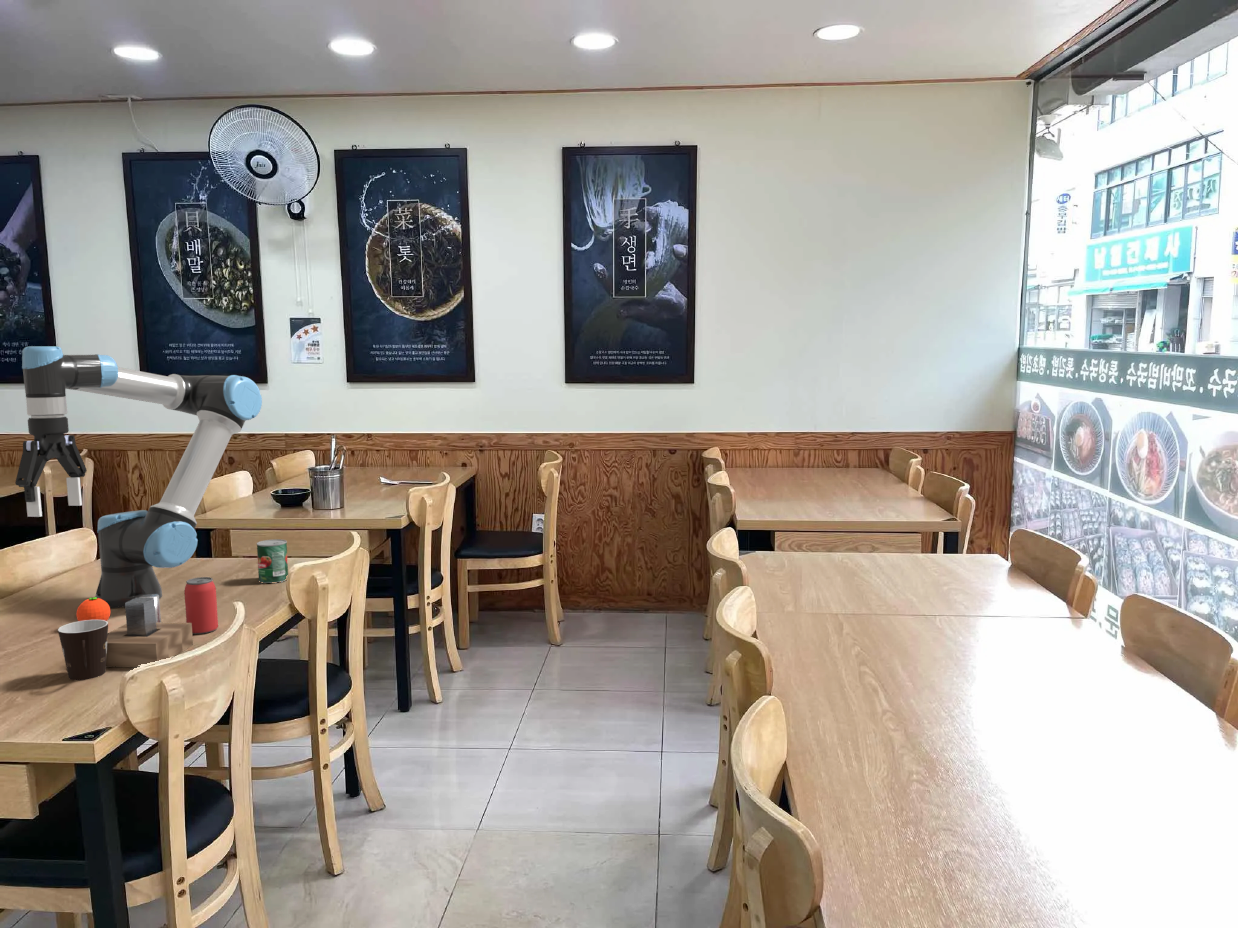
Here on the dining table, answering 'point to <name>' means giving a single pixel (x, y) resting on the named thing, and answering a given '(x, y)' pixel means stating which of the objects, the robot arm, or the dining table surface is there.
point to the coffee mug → (84, 648)
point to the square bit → (140, 617)
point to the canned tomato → (272, 560)
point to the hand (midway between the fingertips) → (55, 510)
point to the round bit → (157, 605)
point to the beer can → (201, 605)
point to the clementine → (93, 610)
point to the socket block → (147, 644)
